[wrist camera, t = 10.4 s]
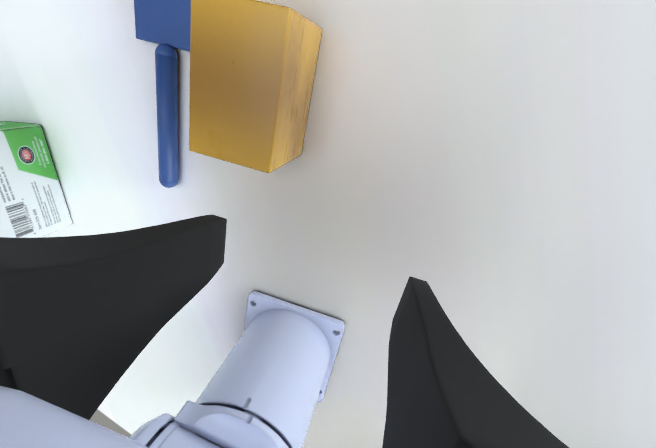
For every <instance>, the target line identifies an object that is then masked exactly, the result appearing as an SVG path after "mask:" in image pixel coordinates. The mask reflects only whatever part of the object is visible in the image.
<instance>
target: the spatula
mask: <svg viewBox="0 0 656 448" xmlns="http://www.w3.org/2000/svg"><path fill="white" fill-rule="evenodd" d="M134 8H135V26H136V38H137V39H141V40H145V41H149V42H154V43H158V44H160V45H158V46H157V47H156V50H155V64H156V95H157V126H158V157H159V181H160V183H161V184H162V185H163V186H165V187H168V188H170V187H174V186H175V185H176V184H177V182H178V75H177V53H176V51H175V49H174V48H173V47H175V48H179V49H183V50H187V51H190V33H191V0H134Z"/></svg>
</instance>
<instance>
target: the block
mask: <svg viewBox="0 0 656 448" xmlns="http://www.w3.org/2000/svg"><path fill="white" fill-rule="evenodd" d="M321 35H322V29H321V28H320V27H319V26H317V25H315V24H314V23H312V22H311V21H309V20H308V19H306V18H305V17H303V16H302V15H300V14H299V13H297V12H296V11H294V10H293V9H291V8H289V7H285V6H280V5H275V4H270V3H265V2H260V1H256V0H191V33H190V126H189V150H190V151H193V152H196V153H200V154H203V155H207V156H210V157H214V158H217V159H221V160H224V161H228V162H231V163H235V164H238V165H242V166H245V167H249V168H252V169H256V170H259V171H263V172H266V173H270V172H272V171H274V170H276V169H277V168H279V167H281V166H282V165H284V164H286V163H287V162H289V161H291V160H293V159H294V158H296V157H298V156H299V155H301V152H302V146H303V141H304V135H305V129H306V123H307V117H308V111H309V105H310V99H311V93H312V88H313V82H314V76H315V70H316V64H317V58H318V52H319V46H320V40H321Z"/></svg>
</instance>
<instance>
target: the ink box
mask: <svg viewBox="0 0 656 448" xmlns="http://www.w3.org/2000/svg"><path fill="white" fill-rule="evenodd" d="M71 224H72V220H71V217H70V214H69V211H68V208H67V205H66V202H65V199H64V196H63V193H62V190H61V186H60V183H59V180H58V177H57V174H56V171H55V168H54V165H53V162H52V159H51V155H50V152H49V149H48V146H47V143H46V140H45V137H44V134H43V130H42V128H41V127H40V125H39V124H30V123H20V122H8V121H0V237H9V238H40V237H42V236H44V235H47V234H49V233H52V232H54V231H57V230H59V229H61V228H64V227H66V226H69V225H71Z"/></svg>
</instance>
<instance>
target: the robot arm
mask: <svg viewBox="0 0 656 448" xmlns="http://www.w3.org/2000/svg"><path fill="white" fill-rule="evenodd" d="M226 223H227V219H225V218H222V217H218V216H215V215H206V216H200V217H194V218H190V219H185V220H180V221H176V222H171V223H167V224H162V225H157V226H151V227H146V228H141V229H135V230H130V231H123V232H116V233H108V234H99V235H88V236H70V237H50V238H9V237H0V448H303V444H304V441H305V438H306V435H307V431H308V428H309V425H310V422H311V418H312V415H313V412H314V409H315V405H316V402H321V401H322V400H323V396H324V393H325V390H326V387H327V383H328V380H329V377H330V374H331V370H332V367H333V364H334V361H335V357H336V354H337V351H338V348H339V344H340V341H341V338H342V335H343V331H344V328H345V324H344V323H343V322H342V321H341V320H338V319H335V318H332V317H329V316H326V315H324V314H321V313H318V312H315V311H312V310H309V309H306V308H303V307H300V306H297V305H294V304H291V303H288V302H286V301H283V300H280V299H277V298H274V297H271V296H268V295H265V294H262V293H259V292H256V291H252V292H251V293H250V294H249V296H248V302H247V311H246V319H245V327H244V333H243V335H242V336H241V338H240V339H239V341H238V342H237V343H236V345H235V346H234V348H233V349H232V351H231V352H230V354H229V355H228V356H227V358H226V359H225V361H224V362H223V364H222V365H221V367H220V368H219V369H218V371H217V372H216V374H215V375H214V377H213V378H212V380H211V381H210V382H209V384H208V385H207V387H206V388H205V390H204V391H203V393H202V394H201V395H200V397H199V398H198V400H197V401H196V403H194V402H191V401H187V402H186V404H185V405H184V406H183V408H182V409H181V410H180V412H179V413H178V415H177V416H176V417H174V416H172V415H170V414H167V413H166V414H162V415H160V416H159V417H157V418H155V419H153V420H151V421H148V422H147V423H145V424H144V425H142V426H141V427H140V428H139V429H138V430H137V431H136V432H135V433H134V434H133V435H132V436H131V437H130V438H128V437H126V436H124V435H121V434H119V433H117V432H114V431H112V430H110V429H108V428H105V427H103V426H101V425H99V424H96V423H94V422H92V421H89V419H90V418H91V417H92V415H93V414H94V412H95V411H96V410H97V408H98V407H99V406H100V404H101V403H102V402H103V400H104V399H105V398H106V396H107V395H108V394H109V392H110V391H111V390H112V388H113V387H114V386H115V384H116V383H117V382H118V380H119V379H120V378H121V376H122V375H123V374H124V373H125V371H126V370H127V369H128V368H129V366H130V365H131V364H132V363H133V361H134V360H135V359H136V358H137V356H138V355H139V354H140V353H141V351H142V350H143V349H144V348H145V347H146V346H147V344H148V343H149V342H150V341H151V340H152V338H153V337H154V336H155V335H156V334H157V333H158V331H159V330H160V329H161V328H162V327H163V326H164V325H165V324H166V323H167V322H168V321H169V320H170V319H171V318H172V317H173V316H174V315H175V314H176V313H177V312H179V311H180V310H181V309H182V308H183V307H184V306H185V305H186V304H187V303H188V302H189V301H190V300H191V299H192V298H193V297H194V296H195V295H196V294H197V293H198V292H199V291H200V290H201V289H202V288H203V287H204V286H205V285H206V284H207V283H208V282H209V281H210V280H211V279H212V278H213V276H214V275H215V274H216V273H217V271H218V270H219V268H220V267H221V266H222V264H223V263H224V251H225V237H226ZM253 301H254V302H255V303H254V302H253ZM335 330H337V331H339V332H336V331H335ZM382 448H569V447H567V446H566V445H565V444H564V443H562V442H561V441H560V440H559V439H558V438H556V437H555V436H554V435H553V434H552V433H551V432H550V431H548V430H547V429H546V428H545V427H544V426H543V425H542V424H541V423H540V422H538V421H537V420H536V419H535V418H534V417H533V416H532V415H531V414H530V413H528V412H527V411H526V410H525V409H524V408H523V407H522V406H521V405H520V404H519V403H518V402H517V401H516V400H515V399H514V398H513V397H512V396H511V395H510V394H509V393H508V392H507V391H506V390H505V389H504V388H503V387H502V386H501V385H500V384H499V383H498V382H497V380H496V379H495V378H494V377H493V376H492V375H491V374H490V373H489V372H488V371H487V369H486V368H485V367H484V366H483V365H482V363H481V362H480V361H479V360H478V359H477V357H476V356H475V355H474V354H473V353H472V351H471V350H470V349H469V347H468V346H467V345H466V343H465V342H464V341H463V339H462V338H461V336H460V335H459V334H458V332H457V331H456V329H455V328H454V326H453V325H452V323H451V322H450V320H449V319H448V317H447V315H446V314H445V312H444V310H443V309H442V307H441V305H440V304H439V302H438V300H437V299H436V297H435V295H434V293H433V292H432V290H431V288H430V286H429V285H428V283H427V282H426V281H423V280H420V279H417V278H413V277H409V280H408V282H407V285H406V287H405V290H404V292H403V295H402V297H401V300H400V303H399V305H398V308H397V310H396V313H395V315H394V318H393V322H392V328H391V334H390V341H389V357H388V393H387V414H386V423H385V431H384V439H383V447H382Z"/></svg>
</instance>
